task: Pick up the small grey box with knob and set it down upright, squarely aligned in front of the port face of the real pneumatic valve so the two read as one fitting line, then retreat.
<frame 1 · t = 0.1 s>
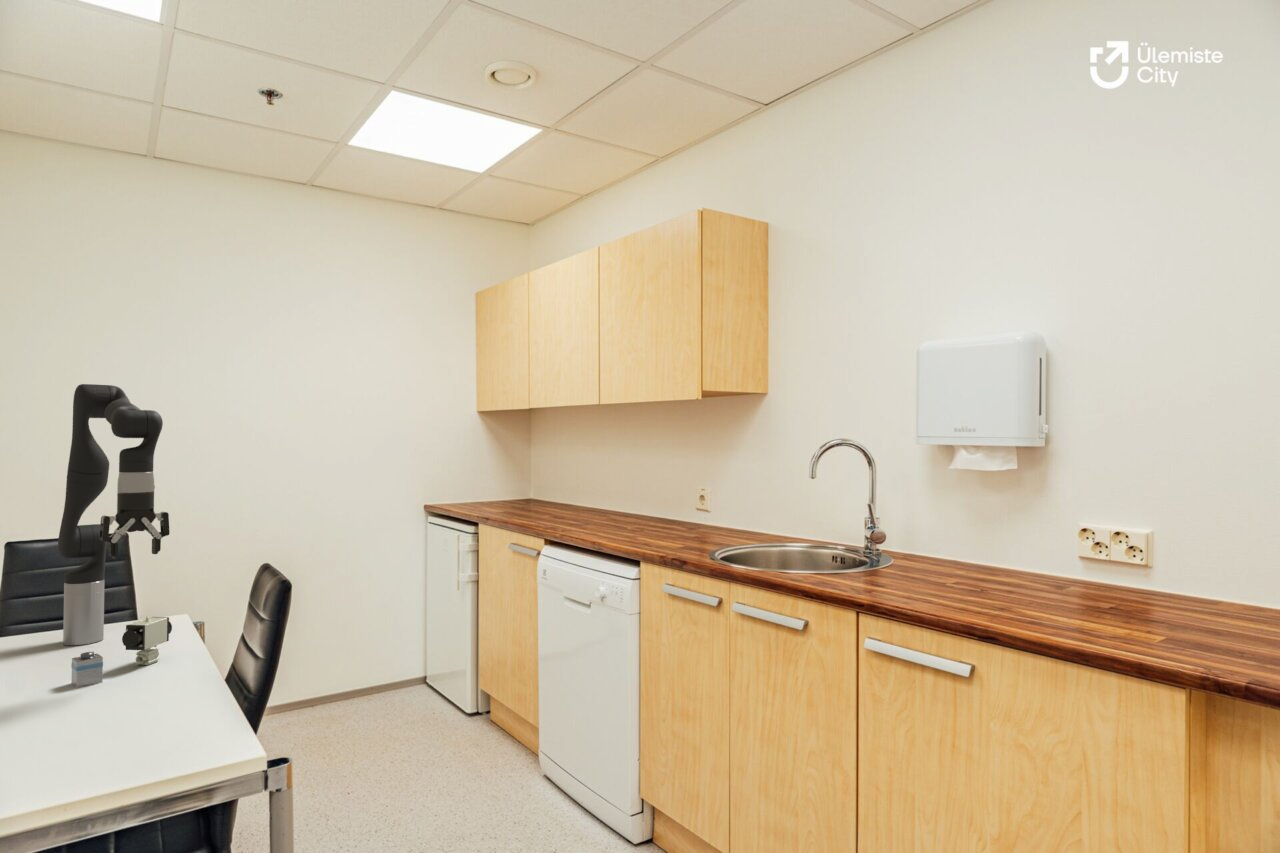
hand: (134, 556, 181), 29 cm above the table, fingers open, 8 cm apart
pneumatic valve: (145, 664, 189), on the table
grey box with knob: (86, 682, 174), on the table
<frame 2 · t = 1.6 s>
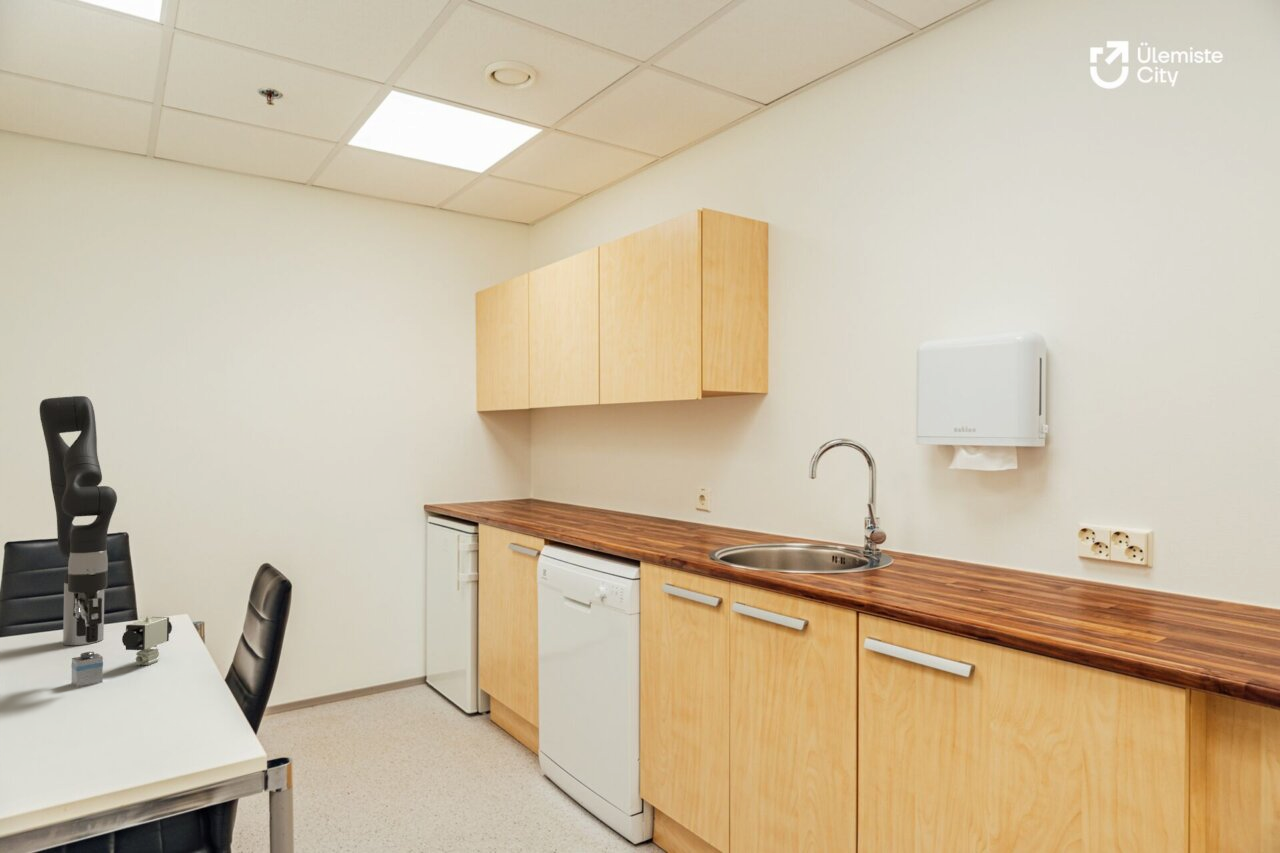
hand: (86, 638, 174), 10 cm above the table, fingers open, 8 cm apart
nothing on the table moved.
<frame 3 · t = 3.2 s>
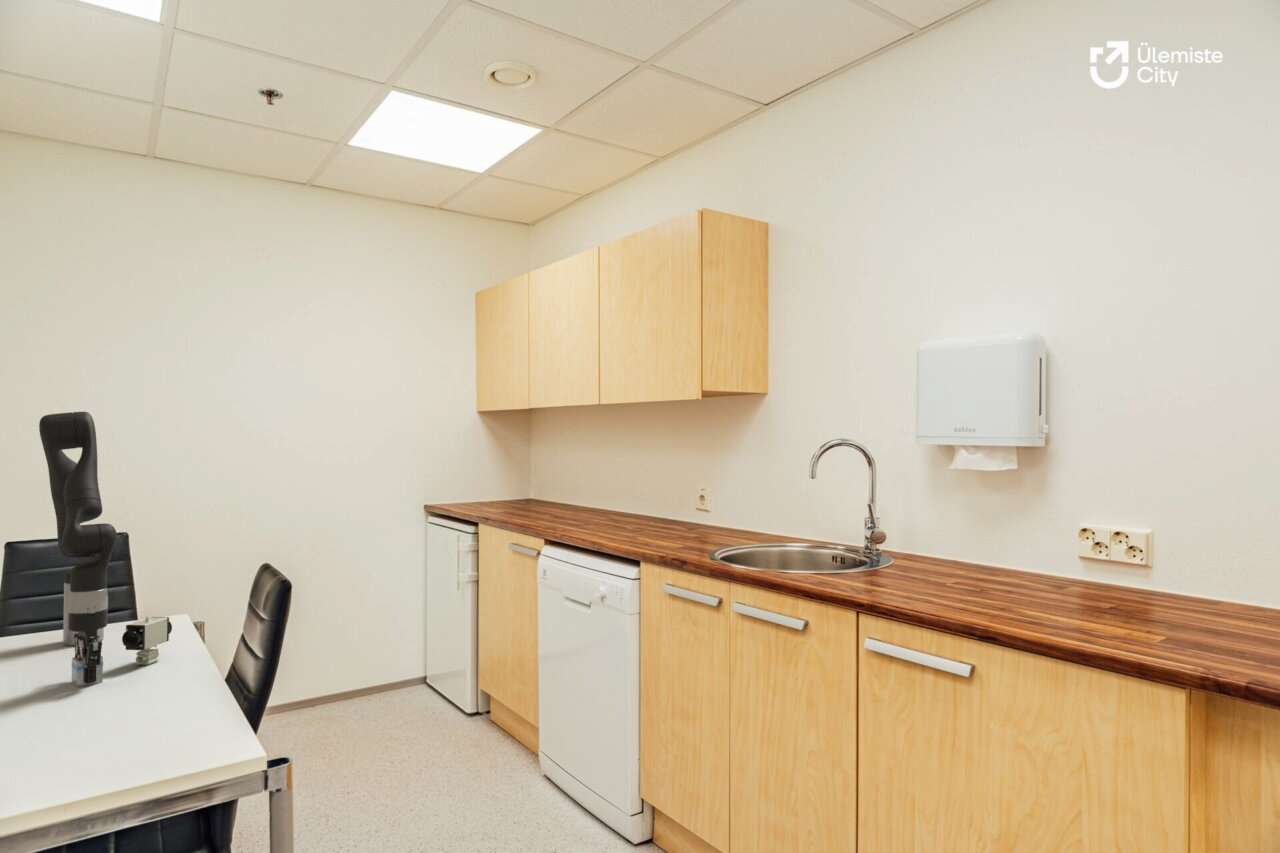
hand: (87, 680, 174), 1 cm above the table, fingers closed on grey box with knob, 4 cm apart
grey box with knob: (87, 682, 174), on the table, touching gripper
everything else where it was.
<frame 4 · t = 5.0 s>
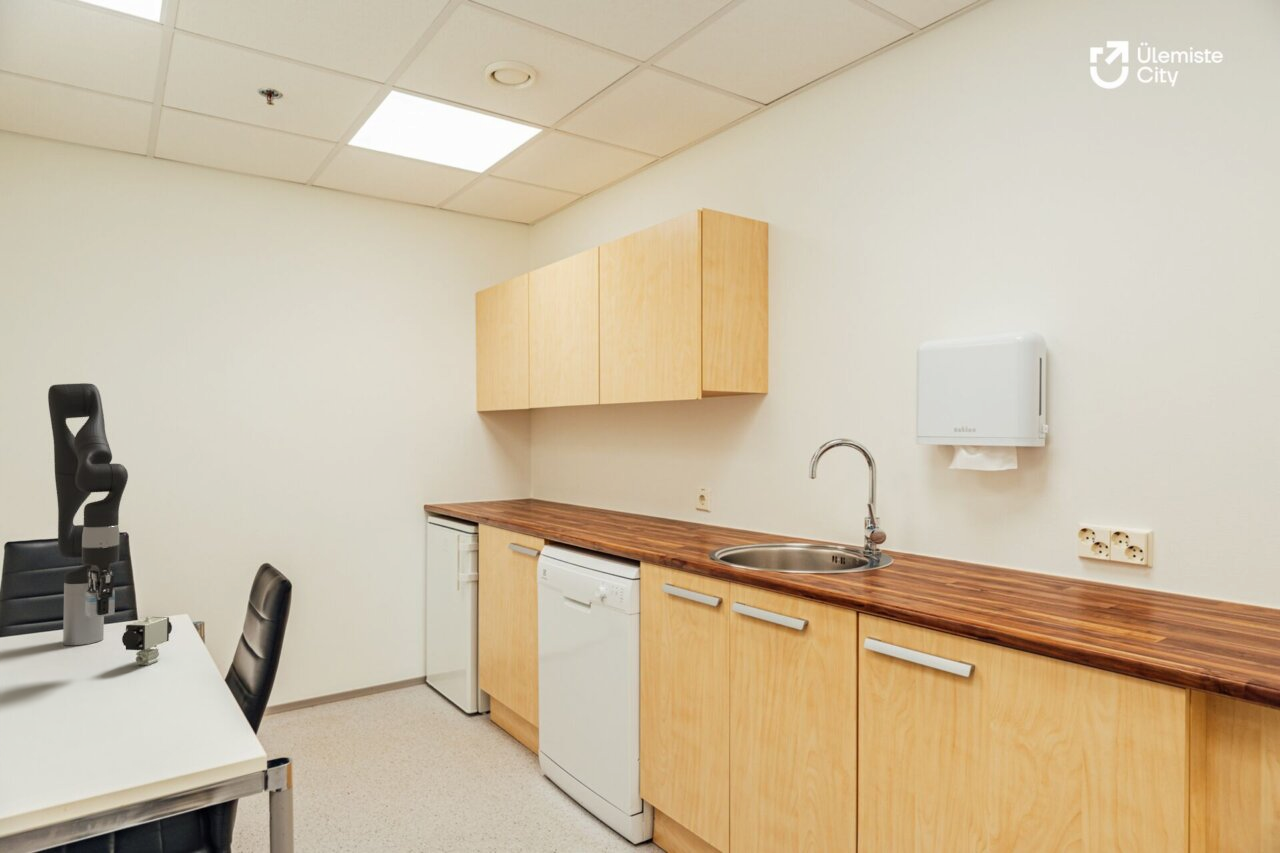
hand: (99, 612, 182), 15 cm above the table, fingers closed on grey box with knob, 4 cm apart
grey box with knob: (99, 614, 182), point 14 cm above the table, touching gripper
everything else where it was.
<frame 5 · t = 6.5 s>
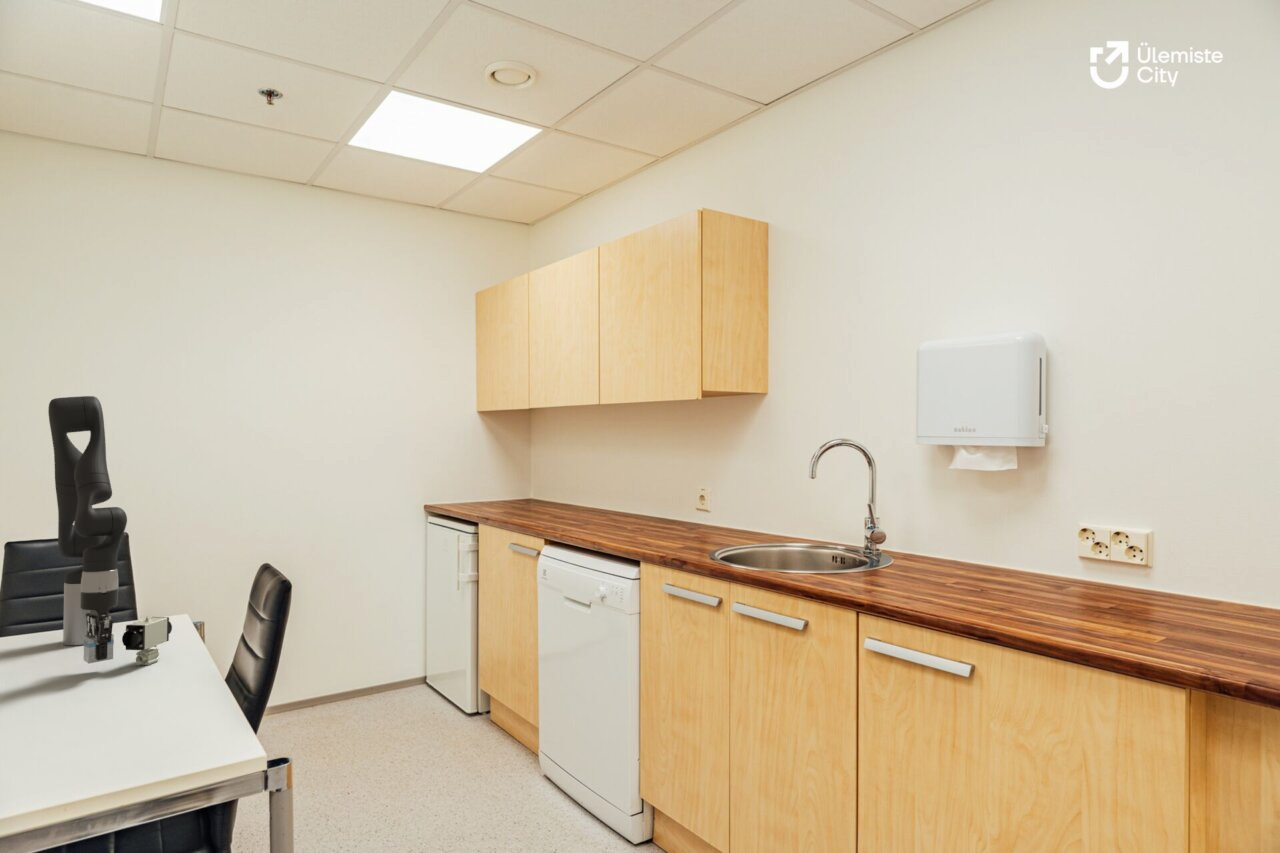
hand: (98, 657, 182), 4 cm above the table, fingers closed on grey box with knob, 4 cm apart
grey box with knob: (98, 659, 182), point 3 cm above the table, touching gripper
everything else where it was.
when the fingers open (2 cm above the table, at t = 7.3 s): grey box with knob drops 1 cm, on the table.
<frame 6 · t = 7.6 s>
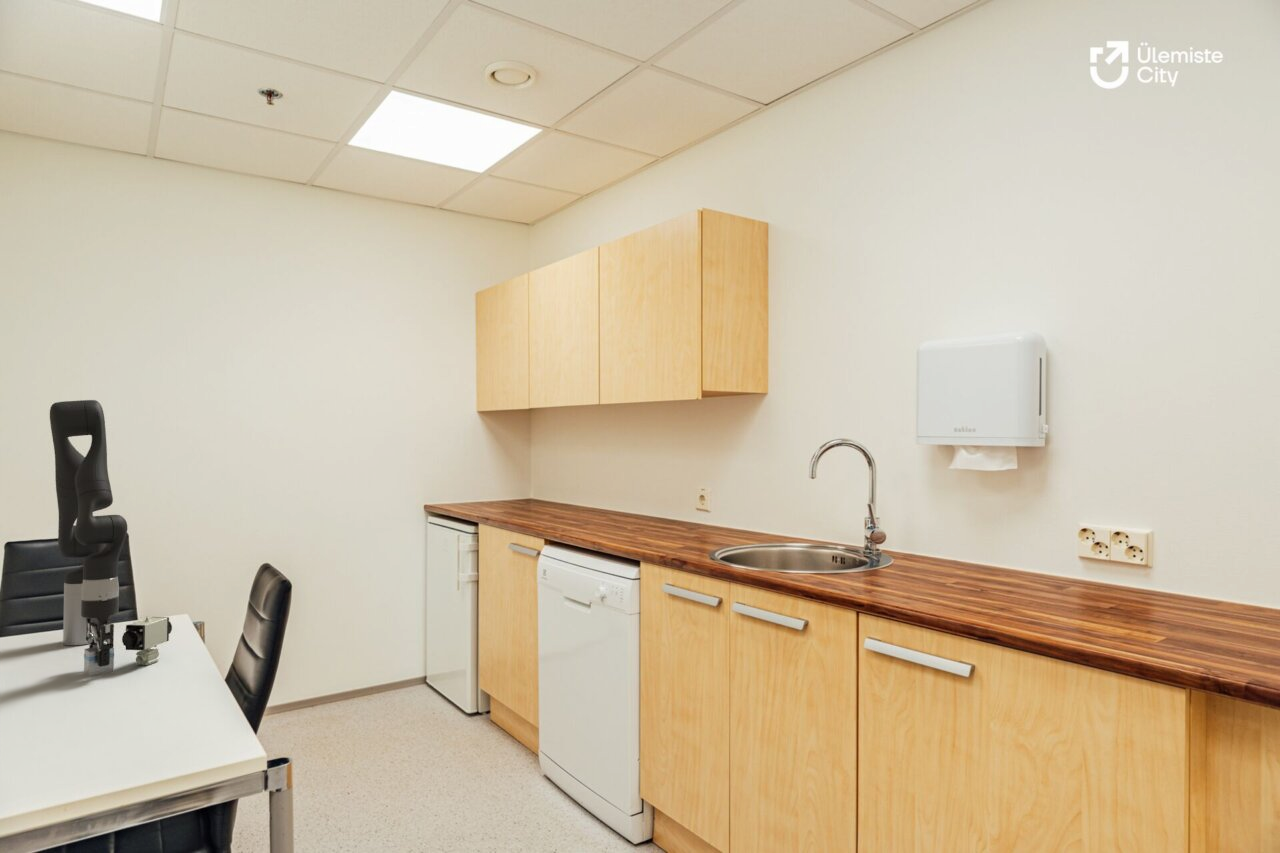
hand: (99, 662, 182), 3 cm above the table, fingers open, 7 cm apart
grey box with knob: (98, 672, 182), on the table
everything else where it was.
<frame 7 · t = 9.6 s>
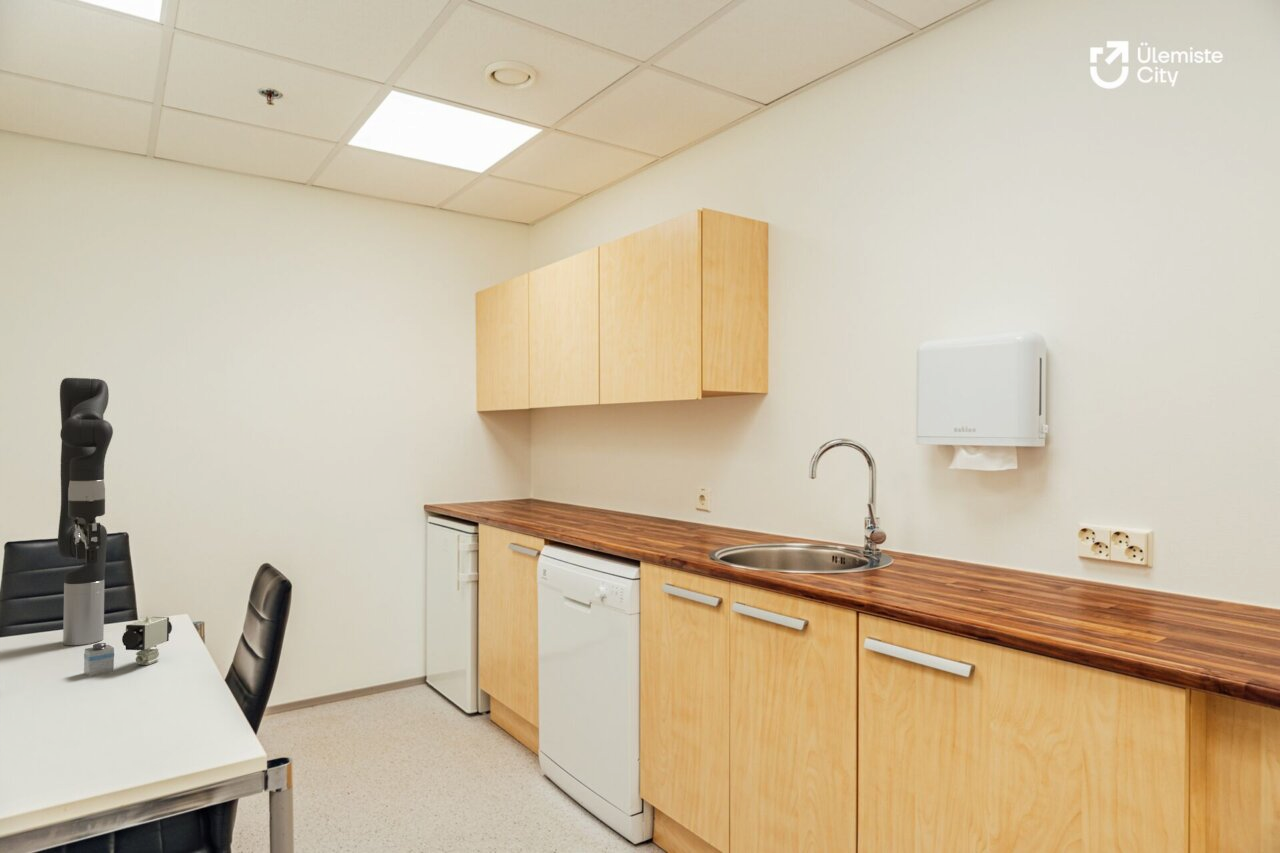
hand: (86, 561, 187), 27 cm above the table, fingers open, 8 cm apart
nothing on the table moved.
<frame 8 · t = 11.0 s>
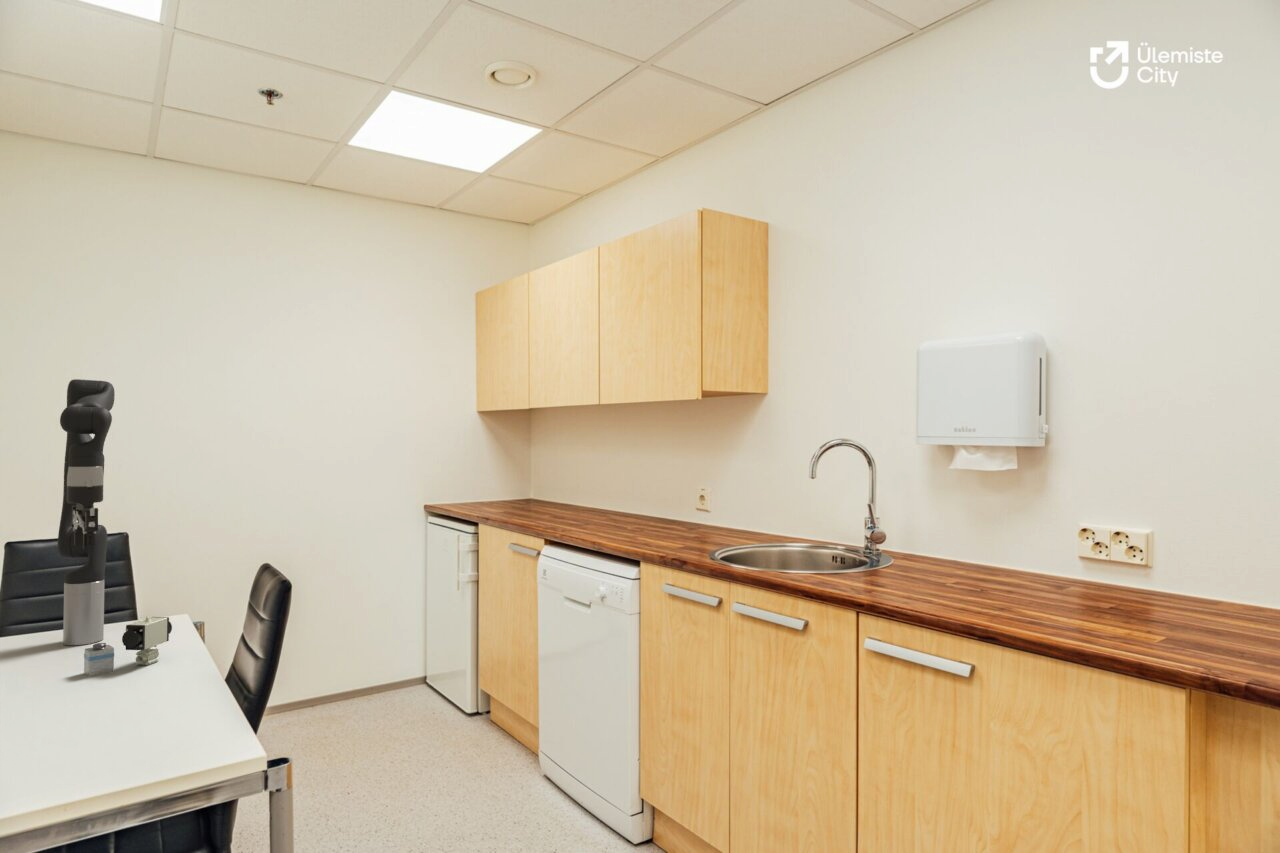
hand: (84, 547, 189), 30 cm above the table, fingers open, 8 cm apart
nothing on the table moved.
at the end: grey box with knob inside the target area (0.3 cm from its centre), on the table; grey box with knob tilted 0°; pneumatic valve moved 0.2 cm from its start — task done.
